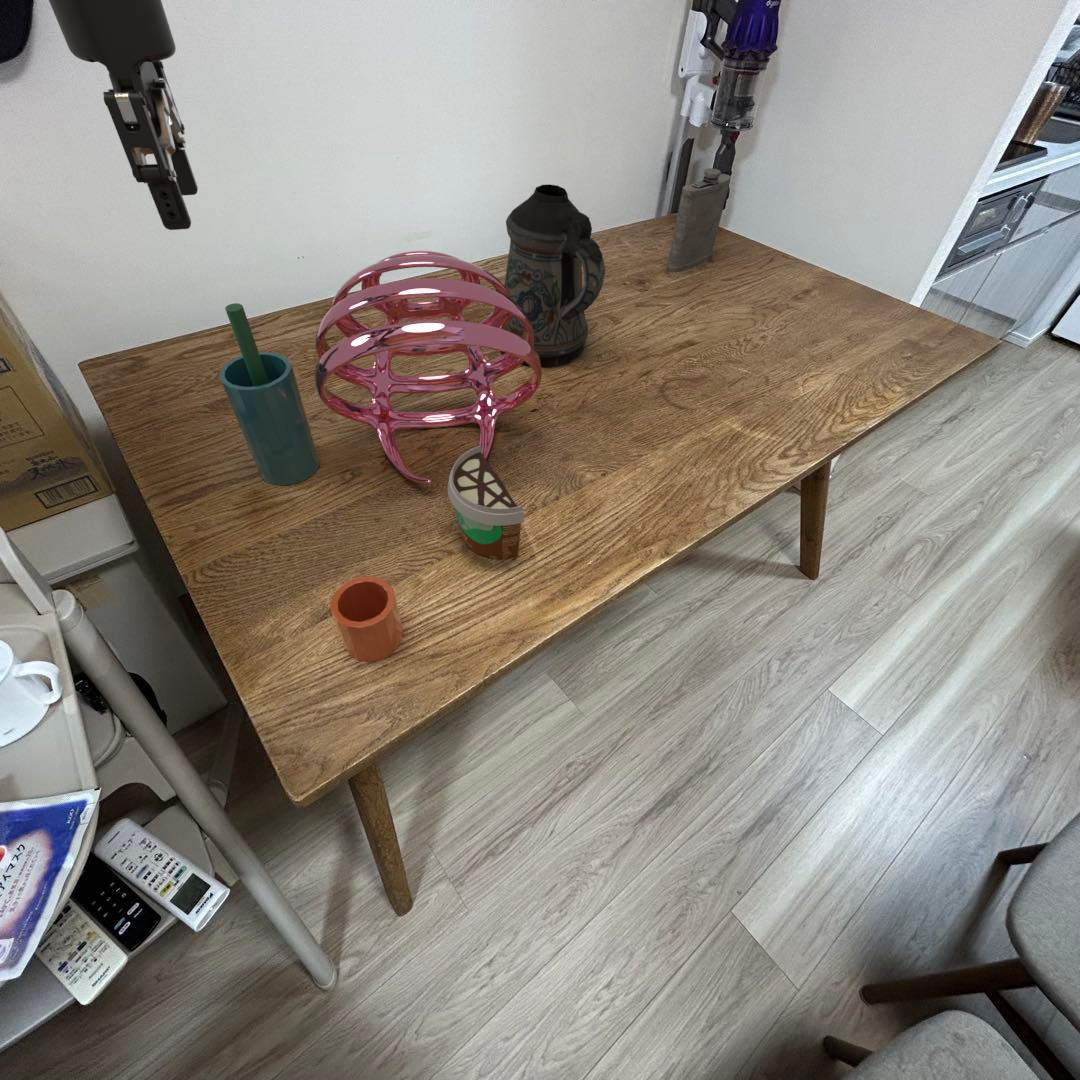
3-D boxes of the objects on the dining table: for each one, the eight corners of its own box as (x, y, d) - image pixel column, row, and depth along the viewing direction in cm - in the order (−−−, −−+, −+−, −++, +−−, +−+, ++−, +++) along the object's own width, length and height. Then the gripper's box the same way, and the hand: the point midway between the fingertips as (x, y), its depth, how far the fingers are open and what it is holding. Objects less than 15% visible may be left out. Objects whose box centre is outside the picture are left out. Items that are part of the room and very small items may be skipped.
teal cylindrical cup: (258, 490, 79) (217, 393, 68) (259, 451, 84) (221, 356, 73) (321, 480, 81) (291, 384, 69) (318, 443, 86) (290, 348, 74)
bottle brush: (275, 471, 80) (216, 316, 64) (275, 455, 82) (217, 301, 66) (302, 467, 81) (250, 313, 65) (301, 451, 83) (250, 298, 67)
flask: (716, 256, 134) (740, 165, 120) (677, 274, 127) (697, 180, 113) (703, 251, 135) (725, 160, 122) (664, 268, 129) (682, 174, 115)
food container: (437, 516, 77) (430, 456, 70) (481, 501, 79) (479, 442, 72) (475, 584, 70) (471, 526, 62) (522, 567, 72) (524, 508, 65)
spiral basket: (534, 426, 59) (501, 173, 62) (272, 471, 63) (254, 231, 66) (566, 482, 86) (542, 305, 90) (383, 511, 90) (366, 340, 93)
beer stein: (514, 312, 113) (516, 162, 94) (613, 335, 109) (635, 183, 90) (478, 356, 102) (472, 196, 84) (585, 382, 99) (604, 221, 80)
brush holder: (347, 670, 62) (332, 633, 57) (342, 622, 66) (328, 583, 61) (407, 656, 63) (398, 619, 58) (399, 610, 67) (390, 571, 62)
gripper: (60, -38, 48) (148, 186, 60) (13, -14, 39) (128, 244, 51) (163, -35, 50) (229, 182, 62) (140, -11, 41) (222, 238, 53)
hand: (183, 210), depth 56 cm, fingers open, 8 cm apart
